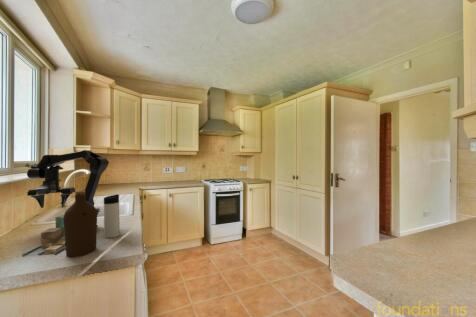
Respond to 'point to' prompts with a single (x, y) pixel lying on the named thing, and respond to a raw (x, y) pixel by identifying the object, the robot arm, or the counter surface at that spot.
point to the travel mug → (111, 216)
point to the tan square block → (61, 243)
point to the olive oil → (80, 227)
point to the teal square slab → (58, 225)
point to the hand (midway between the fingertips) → (52, 207)
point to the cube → (51, 235)
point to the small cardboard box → (53, 249)
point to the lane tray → (41, 251)
